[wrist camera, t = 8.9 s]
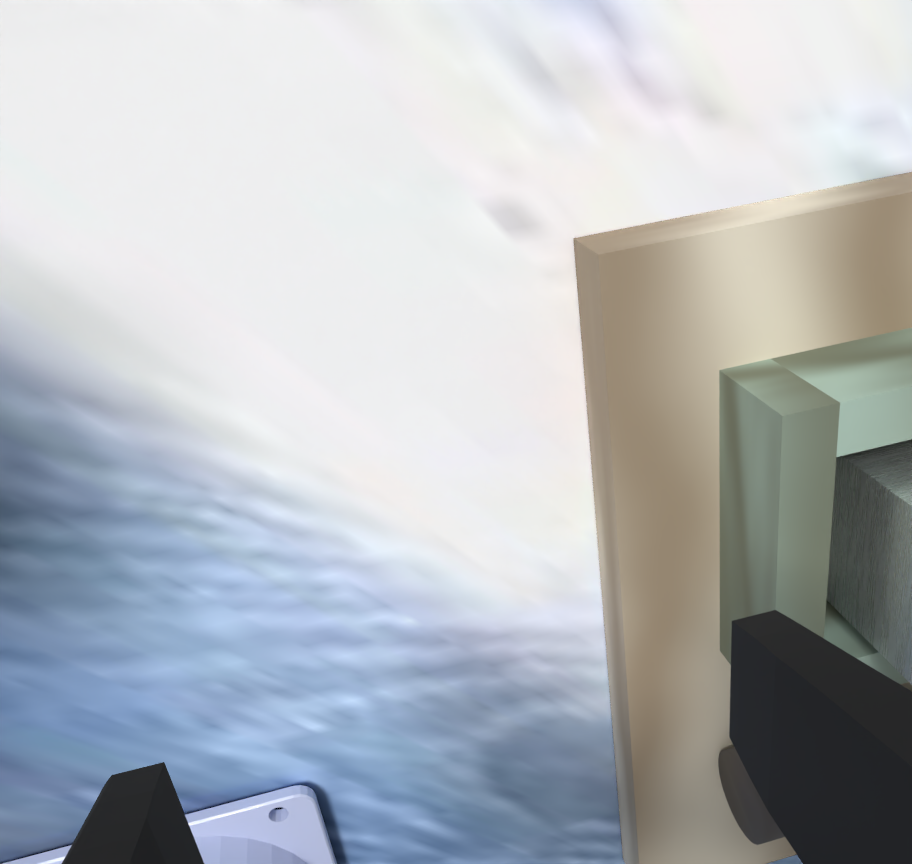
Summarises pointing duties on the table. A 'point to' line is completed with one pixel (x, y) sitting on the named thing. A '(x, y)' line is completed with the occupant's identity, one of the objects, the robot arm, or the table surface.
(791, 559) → the block
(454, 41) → the table surface
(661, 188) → the table surface
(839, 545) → the key peg
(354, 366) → the table surface
